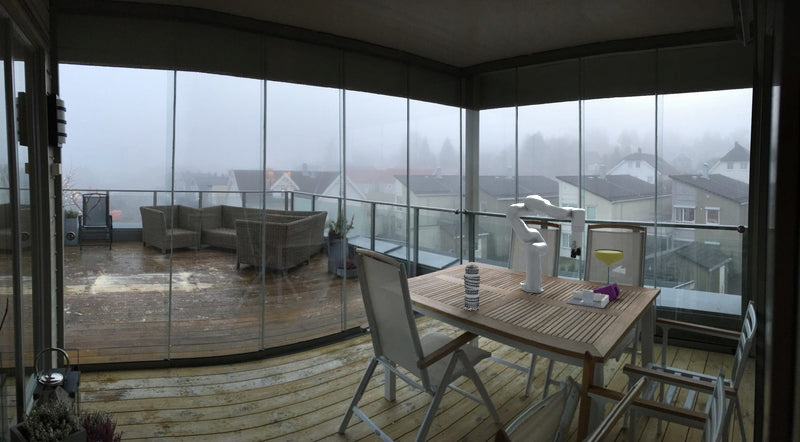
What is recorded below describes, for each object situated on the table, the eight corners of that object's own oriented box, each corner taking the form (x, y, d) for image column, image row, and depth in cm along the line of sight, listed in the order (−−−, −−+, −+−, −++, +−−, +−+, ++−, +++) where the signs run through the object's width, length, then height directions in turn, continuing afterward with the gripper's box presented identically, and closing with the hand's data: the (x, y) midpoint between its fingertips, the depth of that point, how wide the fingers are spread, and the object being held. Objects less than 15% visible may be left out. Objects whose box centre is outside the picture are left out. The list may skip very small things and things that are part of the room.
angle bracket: (582, 301, 274) (582, 289, 273) (593, 302, 271) (593, 290, 270) (580, 303, 269) (580, 291, 269) (591, 304, 266) (591, 292, 265)
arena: (566, 303, 271) (566, 296, 271) (573, 298, 283) (573, 290, 283) (603, 308, 260) (603, 300, 259) (608, 302, 272) (608, 295, 271)
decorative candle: (467, 311, 257) (467, 267, 255) (461, 307, 266) (461, 264, 264) (482, 310, 260) (482, 266, 258) (475, 305, 269) (475, 263, 267)
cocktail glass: (624, 287, 311) (625, 250, 309) (621, 292, 296) (622, 254, 294) (596, 284, 321) (596, 248, 319) (591, 289, 306) (592, 252, 304)
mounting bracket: (589, 306, 286) (616, 298, 274) (583, 293, 288) (610, 285, 276) (594, 303, 293) (622, 295, 281) (589, 291, 295) (616, 282, 283)
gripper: (575, 227, 288) (573, 254, 290) (566, 229, 274) (565, 258, 276) (587, 228, 283) (585, 255, 285) (580, 231, 269) (578, 259, 271)
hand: (575, 256), depth 280 cm, fingers open, 9 cm apart
